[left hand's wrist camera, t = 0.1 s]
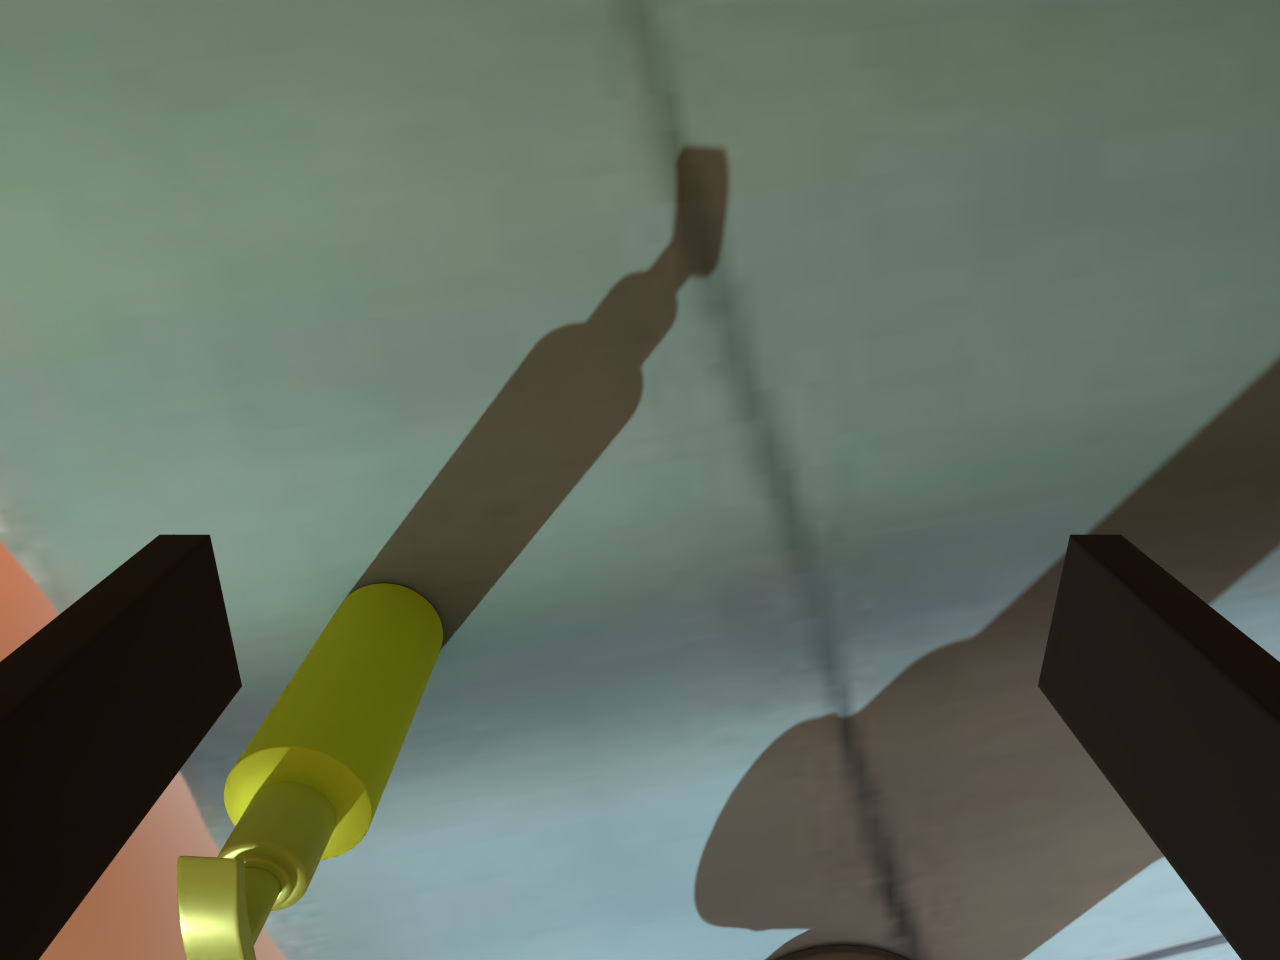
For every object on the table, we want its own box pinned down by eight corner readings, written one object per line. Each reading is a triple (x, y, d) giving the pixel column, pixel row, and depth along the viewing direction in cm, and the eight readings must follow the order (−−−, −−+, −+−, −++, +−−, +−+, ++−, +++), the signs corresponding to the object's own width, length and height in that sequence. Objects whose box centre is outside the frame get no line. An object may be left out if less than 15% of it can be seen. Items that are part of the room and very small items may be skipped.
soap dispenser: (442, 569, 44) (296, 876, 25) (444, 678, 46) (314, 1030, 28) (330, 562, 44) (102, 866, 25) (339, 672, 46) (137, 1022, 28)
